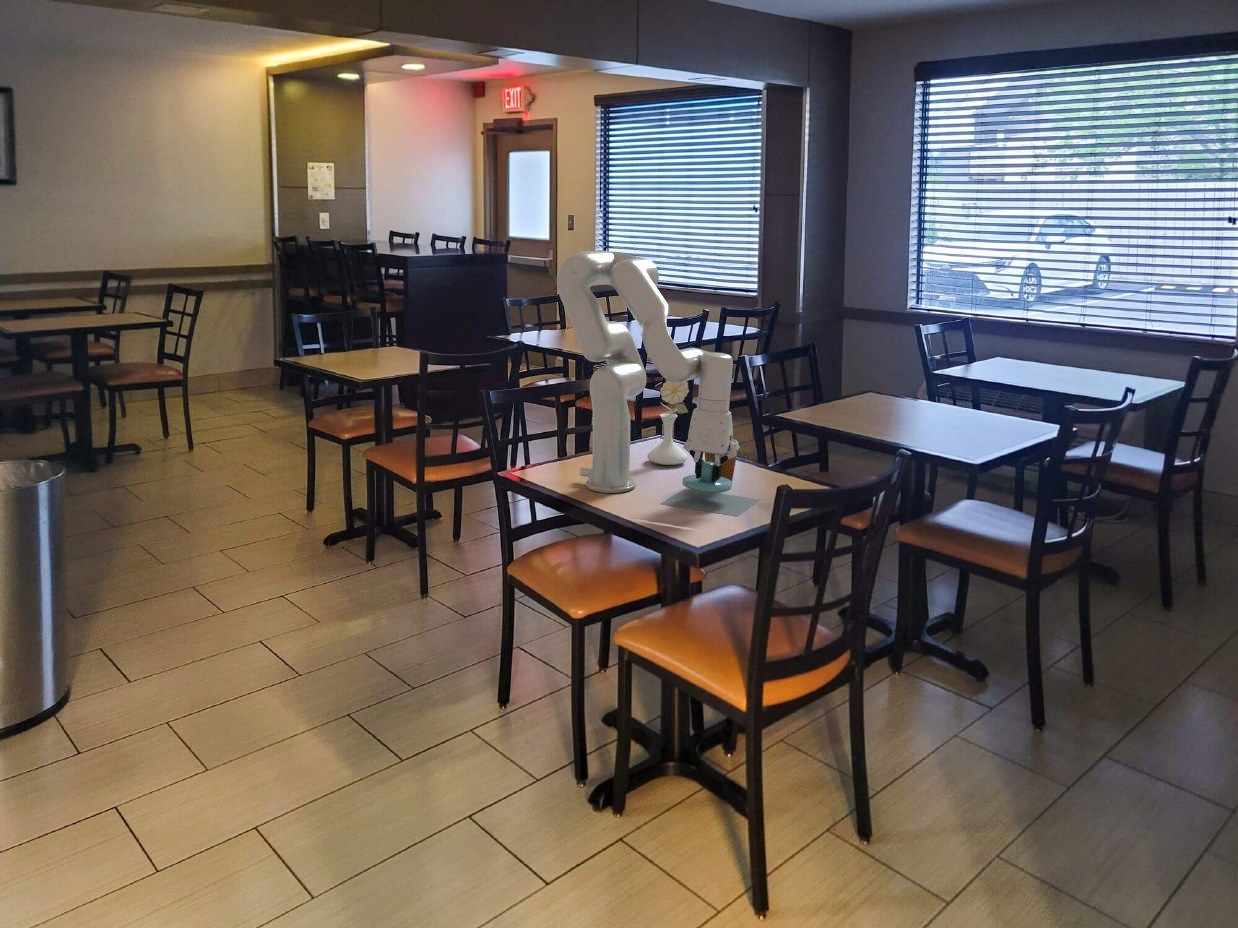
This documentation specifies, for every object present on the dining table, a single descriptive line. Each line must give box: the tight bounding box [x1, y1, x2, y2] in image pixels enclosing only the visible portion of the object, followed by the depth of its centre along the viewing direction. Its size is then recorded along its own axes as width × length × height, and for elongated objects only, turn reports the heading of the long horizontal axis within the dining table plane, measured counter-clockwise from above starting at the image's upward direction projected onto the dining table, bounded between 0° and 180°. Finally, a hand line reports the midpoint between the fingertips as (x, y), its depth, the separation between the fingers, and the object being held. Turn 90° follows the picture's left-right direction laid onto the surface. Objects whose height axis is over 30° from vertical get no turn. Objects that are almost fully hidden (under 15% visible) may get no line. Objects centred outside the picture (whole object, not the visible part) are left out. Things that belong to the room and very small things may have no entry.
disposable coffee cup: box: [703, 438, 740, 483], centre depth 256 cm, size 10×10×12 cm
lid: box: [681, 460, 733, 493], centre depth 241 cm, size 12×12×6 cm
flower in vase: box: [646, 379, 690, 466], centre depth 277 cm, size 13×11×25 cm
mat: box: [659, 487, 761, 518], centre depth 242 cm, size 20×16×1 cm
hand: (707, 478), depth 241 cm, fingers closed on lid, 3 cm apart
